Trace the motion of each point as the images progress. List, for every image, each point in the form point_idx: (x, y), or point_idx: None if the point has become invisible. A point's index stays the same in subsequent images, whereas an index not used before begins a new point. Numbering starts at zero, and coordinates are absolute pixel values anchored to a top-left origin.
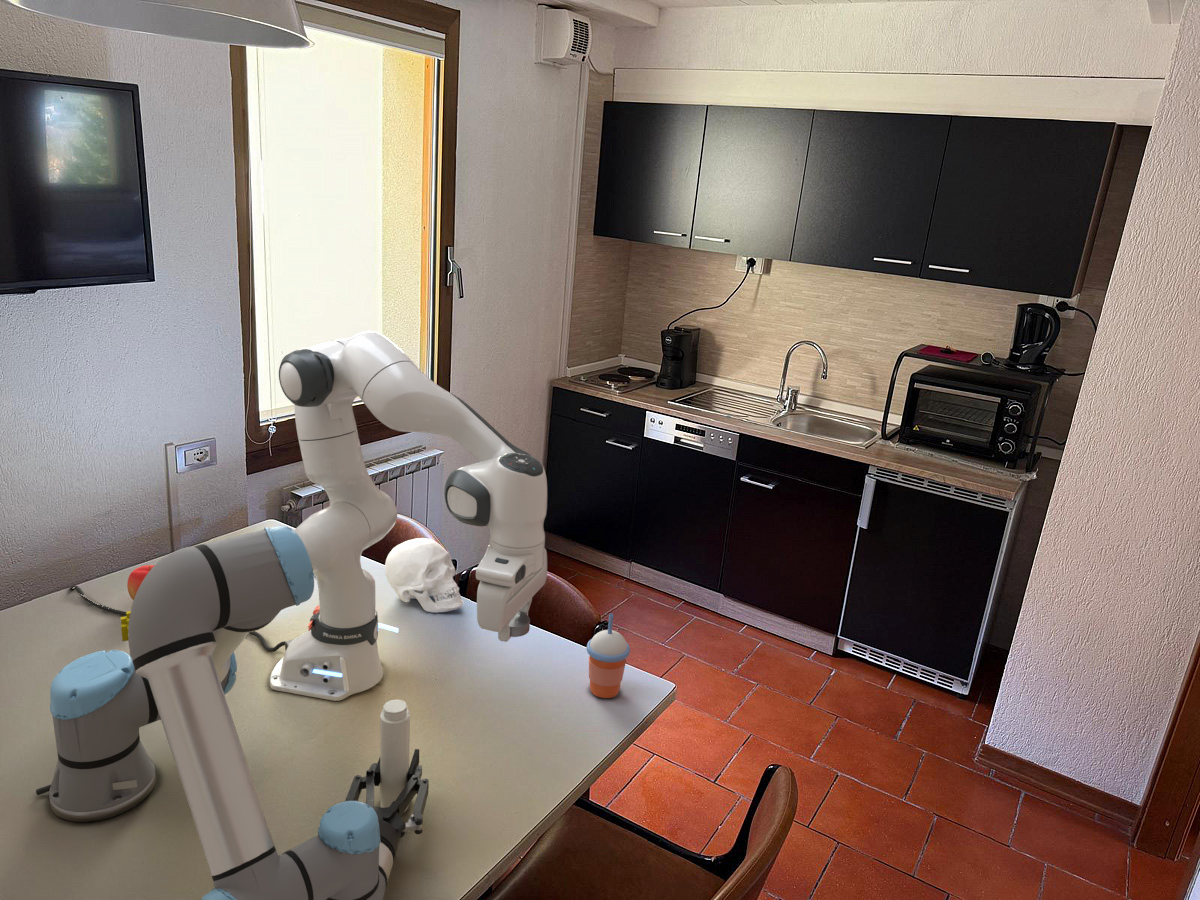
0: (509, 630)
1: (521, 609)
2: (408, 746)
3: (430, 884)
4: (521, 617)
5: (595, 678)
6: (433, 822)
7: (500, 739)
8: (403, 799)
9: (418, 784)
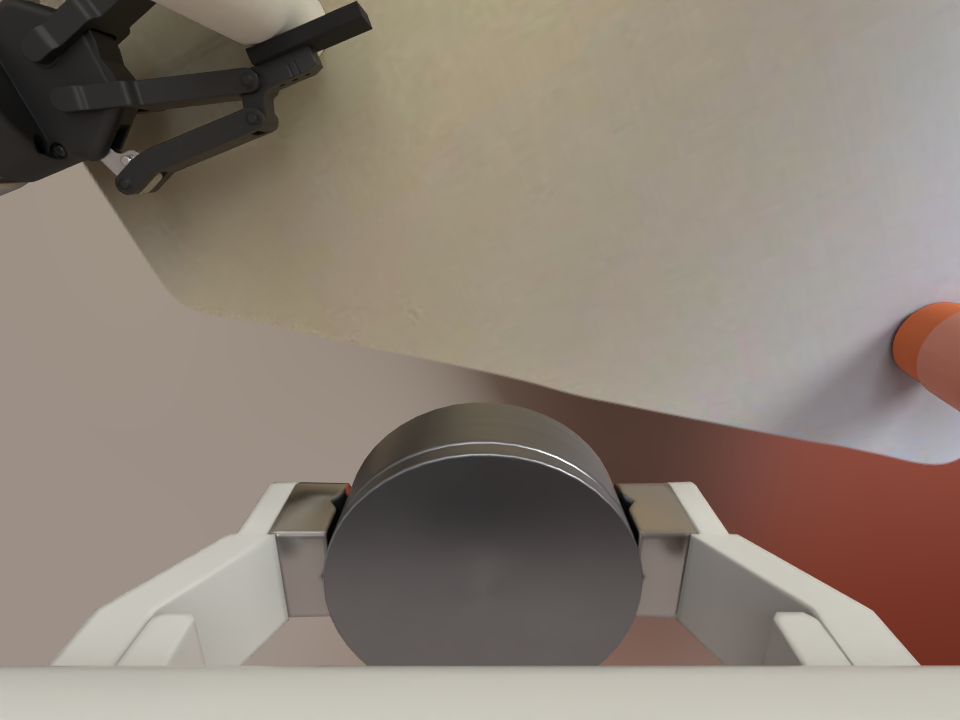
0: (272, 626)
1: (699, 586)
2: (214, 20)
3: (151, 241)
4: (544, 632)
5: (938, 343)
6: (296, 155)
7: (644, 164)
8: (157, 100)
9: (244, 102)
